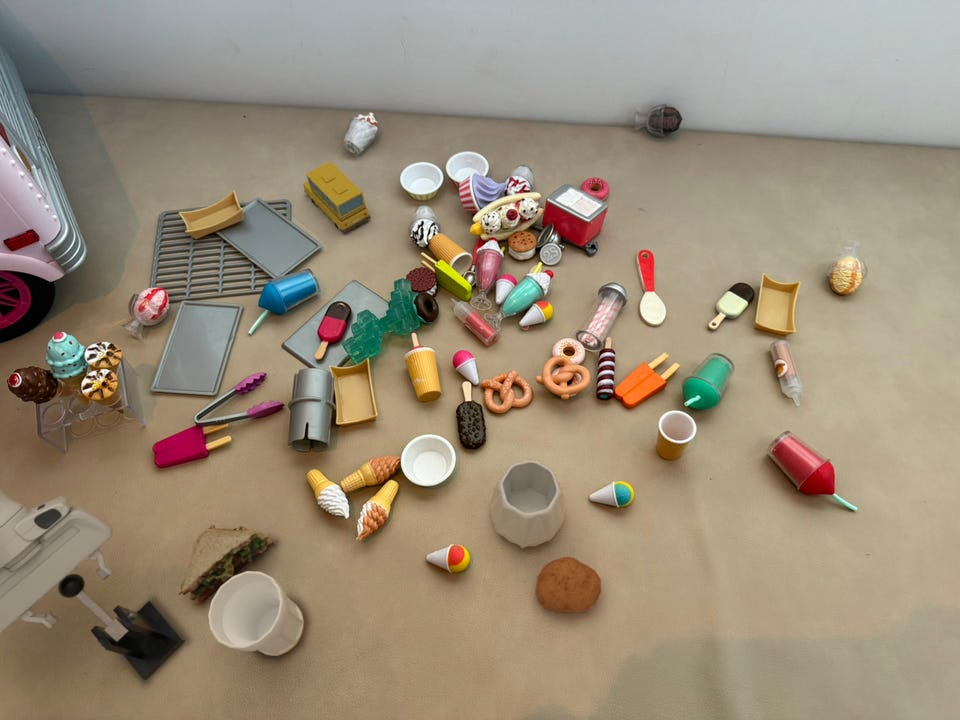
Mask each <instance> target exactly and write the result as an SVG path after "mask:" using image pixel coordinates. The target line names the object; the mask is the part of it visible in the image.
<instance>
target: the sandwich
mask: <svg viewBox="0 0 960 720" xmlns="http://www.w3.org/2000/svg"><path fill="white" fill-rule="evenodd" d="M274 543H275V542H274V540H272V539H270V538H269V537H268V535H267V534H265V533H263V532H262V533H261V532H257V531H255V530H252V529H249V528H246V527H244V526H242V525H239V526H238V529H237V527H235V528H233V529H227V528H217V527H216V526H215V524H213V523H212V524H210V526H209V527H208V528H205V529H203V530H201V531H200V532H199V533H198V534H197V535H196V537H195V539H194V540H193V543H192V551H191V556H190V561H189V565H188V568H187V572H186V576H185V577H184V579H183V580H182V583H181V584H180V591H179V593H178V596H179V595H181V594H182V595H183V596H186V595H188V594H189V593H190V594H189V595H190V596H189V600H190V601H196V600H198V604H199V605H202V604H203V603H204V602H205V601H207V600H208V599H209V598H210V597H211V596H212V595H213V594H214V593H216V592H217V591H218V590H219V588H220V586H222V585H223V584H224V583H225V582H227V581H228V580H229V579H230V578H232V577H233V576H236V575H237V574H238V573H239V572H240V571H241V570H242V569H243V568H244V567H245V566H247V565H248V564H250V563H252V562H253V561H254V562H256V558H257V557H259V556H260V555H262V553H265V551H266V550H267V549H269V547H271V546H272V545H273V544H274Z"/></svg>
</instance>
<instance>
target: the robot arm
mask: <svg viewBox="0 0 960 720" xmlns="http://www.w3.org/2000/svg"><path fill="white" fill-rule="evenodd" d="M112 537H113V526H112V525H111V524H110V523H109V522H108V521H107V520H106V519H104V518H103V517H102V516H100V515H99V514H98V513H96V512H94V511H93V510H92V509H89V508H88V507H86V506H83V505H72V503H71V501H70V499H69V498H67V497H66V496H64V495H60V496H57V497H55V498H54V499H53V498H52V499H51V500H48V501H46V502H44V503H42V504H40V505H37V506H35V507H33V508H30V509H28V508H27V507H26V506H25V505H23V503H20V502H19V501H16V500H14V499H12V498H10V497H9V496H8V495H7V494H6V493H5V491H4V490H3V488H2V487H1V486H0V633H2V632H4V631H5V630H6V629H7V628H9V626H11V625H12V624H13V623H14V622H15V621H17V619H19V618H20V619H21V620H22V621H24V622H29V623H37V624H38V623H41V624H43V625H44V626H45V627H46V628H48V629H51V628H52V627H53V626H55V625H56V624H57V623H59V621H60V617H59V616H58V615H57V614H55V612H53V611H52V610H49V611H48V612H46V613H39V612H35V608H34V607H33V606H34V605H36V603H38V602H39V601H40V599H42V598H44V596H46V595H47V594H48V593H49V592H50V591H51V590H52V589H53V588H55V587H56V586H57V585H59V583H60V581H61V580H62V579H64V578H65V577H66V576H67V575H70V574H71V573H72V572H73V571H74V570H75V569H76V568H77V567H79V566H80V565H81V564H82V563H84V562H85V561H86V560H87V559H88V558H90V559H91V560H92V561H96V560H97V562H98V565H99V567H98V568H97V569H96V570H95V574H96V575H97V576H99V577H101V579H102V580H106V579H108V578H109V577H110V575H112V574H113V570H112V569H111V567H109V566H108V565H107V564H106V563H105V559H104V558H105V557H104V555H103V550H102V549H100V548H101V547H102V546H103V545H104V544H105V543H106V542H107V541H109V540H110V539H111V538H112Z"/></svg>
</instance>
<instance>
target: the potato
mask: <svg viewBox="0 0 960 720" xmlns="http://www.w3.org/2000/svg"><path fill="white" fill-rule="evenodd" d="M601 580H602V579H601V577H600V576H599V574H598V573H597V571H596V570H595V569H593V568H592V567H590V566H589V565H587V564H585V563H583V562H581V561H580V560H578V559H576V558H574V557H571V556H565V557H562V558H557V559H554V560H551V561H550V562H548V563H547V564H546V565H544V566H543V567H542V569H541V571H540V572H539V573H538V575H537V577H536V584H535V593H534V594H535V596H536V599H537V601H538V603H539V605H540V606H542V607H543V608H545V609H548V610H552V611H559V612H564V613H572V614H574V613H581V612H585V611H588V610H589V611H590V609H592V608H593V607H594V606H595V605H596V604H597V602H598V600H599V597H600V596H601V593H602V583H601V582H602V581H601Z"/></svg>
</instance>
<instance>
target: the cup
mask: <svg viewBox="0 0 960 720" xmlns="http://www.w3.org/2000/svg"><path fill="white" fill-rule="evenodd" d="M207 617H208V618H207V619H208V625H209V630H210V632H211V633H212V635H213V637H214V638H215V640H216V641H217V642H218V643H220V644H222V645H224V646H225V647H227V648H228V649H229V648H230V649H232V650H236V651H239V652H256V651H258V652H259V653H262V654H264V655H267V656H272V657H280V656H283V655H284V654H287V653H289V652H290V651H292V649H294V648H295V647H296V646H297V645H298V644H299V642H300V640H301V638H302V636H303V635H304V629H305V625H306V624H305V617H304V614H303V612H302V610H301V608H300V607H299V606H298V605H297V604H296V603H295V602H293V601H292V599H290V598H289V597H288V593H286V591H285V589H283V587H282V586H281V584H280V583H279V582H278V581H277V580H276V579H275V578H273V577H272V576H271V575H268V574H266V573H264V572H262V571H251V570H246V571H243V572H241V573H237V574H235V575H234V576H233V577H232V578H230V579H229V580H228V581H227V582H225V583H224V584H223V585H222V586H220V588H218V589H217V590H216V592H215V594H214V596H213V598H212V599H211V602H210V606H209V610H208V614H207Z"/></svg>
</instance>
